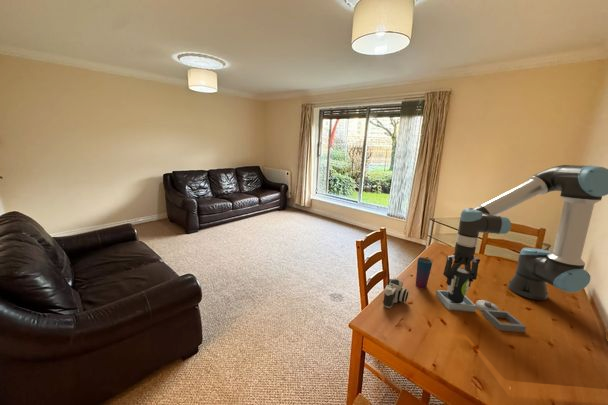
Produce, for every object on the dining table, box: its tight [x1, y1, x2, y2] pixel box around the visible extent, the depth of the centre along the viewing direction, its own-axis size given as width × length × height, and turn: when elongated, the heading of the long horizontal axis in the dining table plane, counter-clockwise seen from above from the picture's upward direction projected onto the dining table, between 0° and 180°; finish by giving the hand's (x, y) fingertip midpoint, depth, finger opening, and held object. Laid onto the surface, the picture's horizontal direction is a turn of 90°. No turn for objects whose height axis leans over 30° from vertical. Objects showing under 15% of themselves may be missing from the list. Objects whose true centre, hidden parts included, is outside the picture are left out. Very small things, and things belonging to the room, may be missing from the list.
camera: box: [382, 277, 409, 309], centre depth 112 cm, size 16×9×10 cm, turn 145°
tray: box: [435, 289, 477, 313], centre depth 114 cm, size 12×12×3 cm
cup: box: [415, 256, 433, 290], centre depth 126 cm, size 7×7×15 cm
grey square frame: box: [475, 299, 527, 333], centre depth 106 cm, size 10×18×3 cm, turn 178°
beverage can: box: [448, 266, 469, 303], centre depth 112 cm, size 6×6×15 cm
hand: (456, 291), depth 113 cm, fingers closed on beverage can, 6 cm apart
